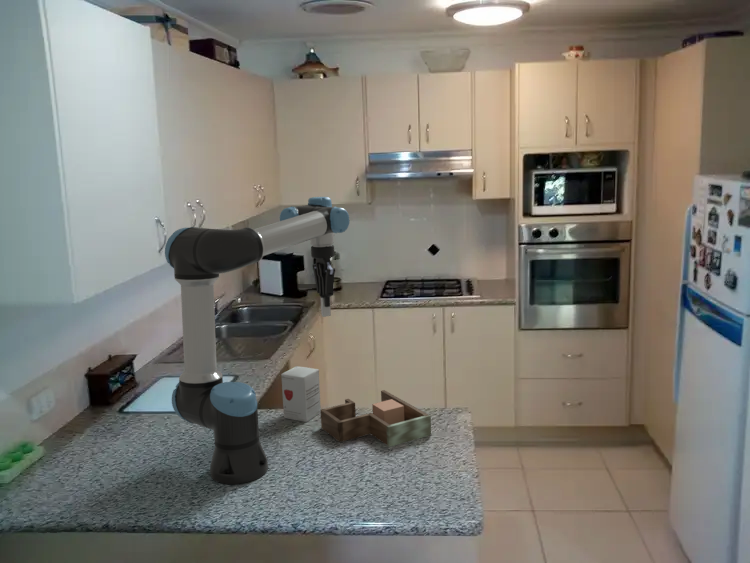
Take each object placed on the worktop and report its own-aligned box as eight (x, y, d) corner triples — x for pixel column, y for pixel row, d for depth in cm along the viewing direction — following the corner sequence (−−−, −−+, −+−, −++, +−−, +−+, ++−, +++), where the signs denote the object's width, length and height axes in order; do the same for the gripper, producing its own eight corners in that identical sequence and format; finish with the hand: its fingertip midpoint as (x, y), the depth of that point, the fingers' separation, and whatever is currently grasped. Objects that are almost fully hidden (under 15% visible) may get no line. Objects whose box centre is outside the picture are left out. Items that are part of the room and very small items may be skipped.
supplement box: (282, 418, 217) (279, 373, 214) (298, 408, 225) (295, 365, 222) (306, 422, 213) (303, 377, 210) (321, 412, 220) (319, 368, 218)
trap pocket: (339, 442, 197) (338, 422, 196) (321, 428, 208) (320, 409, 207) (372, 433, 203) (371, 414, 202) (352, 420, 213) (351, 402, 212)
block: (384, 433, 203) (384, 411, 202) (373, 425, 209) (372, 404, 207) (404, 427, 206) (403, 406, 205) (392, 420, 212) (391, 399, 211)
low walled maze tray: (389, 447, 193) (388, 427, 192) (345, 417, 216) (345, 399, 215) (431, 435, 200) (430, 415, 199) (384, 407, 223) (384, 389, 222)
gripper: (341, 246, 215) (345, 318, 220) (324, 241, 227) (328, 310, 231) (319, 248, 212) (323, 321, 217) (303, 244, 223) (308, 313, 228)
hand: (326, 315), depth 224 cm, fingers closed
